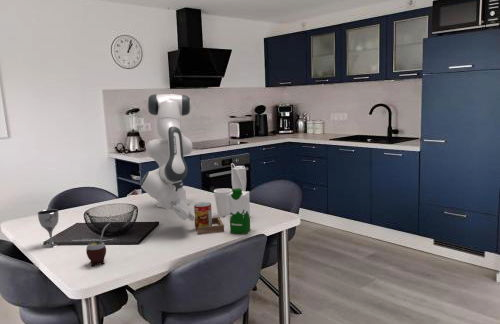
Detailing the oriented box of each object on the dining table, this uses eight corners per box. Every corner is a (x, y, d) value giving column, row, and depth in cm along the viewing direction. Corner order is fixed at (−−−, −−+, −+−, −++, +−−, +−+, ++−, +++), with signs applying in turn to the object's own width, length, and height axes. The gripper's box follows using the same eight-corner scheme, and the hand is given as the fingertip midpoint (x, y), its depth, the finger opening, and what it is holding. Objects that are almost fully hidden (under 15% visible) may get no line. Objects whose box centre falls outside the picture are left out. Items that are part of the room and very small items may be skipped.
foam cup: (234, 212, 225) (233, 188, 223) (231, 217, 215) (230, 192, 213) (216, 212, 225) (215, 188, 224) (213, 217, 216) (212, 192, 214)
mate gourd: (83, 265, 158) (79, 227, 156) (98, 258, 166) (94, 221, 163) (99, 268, 156) (95, 229, 153) (113, 260, 163) (110, 222, 161)
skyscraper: (229, 219, 211) (227, 164, 207) (236, 215, 218) (233, 161, 214) (245, 220, 208) (242, 164, 204) (251, 216, 215) (249, 162, 211)
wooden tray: (194, 225, 204) (194, 219, 203) (219, 222, 206) (219, 216, 206) (197, 234, 190) (197, 228, 189) (224, 231, 192) (223, 225, 192)
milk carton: (228, 233, 189) (225, 190, 186) (235, 227, 198) (233, 185, 195) (246, 235, 186) (244, 191, 183) (252, 228, 195) (251, 186, 192)
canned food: (196, 226, 201) (194, 202, 199) (212, 226, 201) (211, 201, 200) (194, 232, 193) (193, 206, 192) (211, 231, 194) (210, 205, 192)
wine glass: (48, 249, 178) (44, 215, 175) (37, 246, 182) (33, 212, 179) (65, 243, 184) (62, 210, 182) (54, 240, 188) (51, 208, 186)
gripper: (176, 200, 182) (200, 219, 186) (174, 190, 202) (196, 208, 205) (166, 210, 182) (190, 230, 185) (165, 200, 202) (187, 218, 205)
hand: (193, 218), depth 196 cm, fingers closed, pressing on canned food
